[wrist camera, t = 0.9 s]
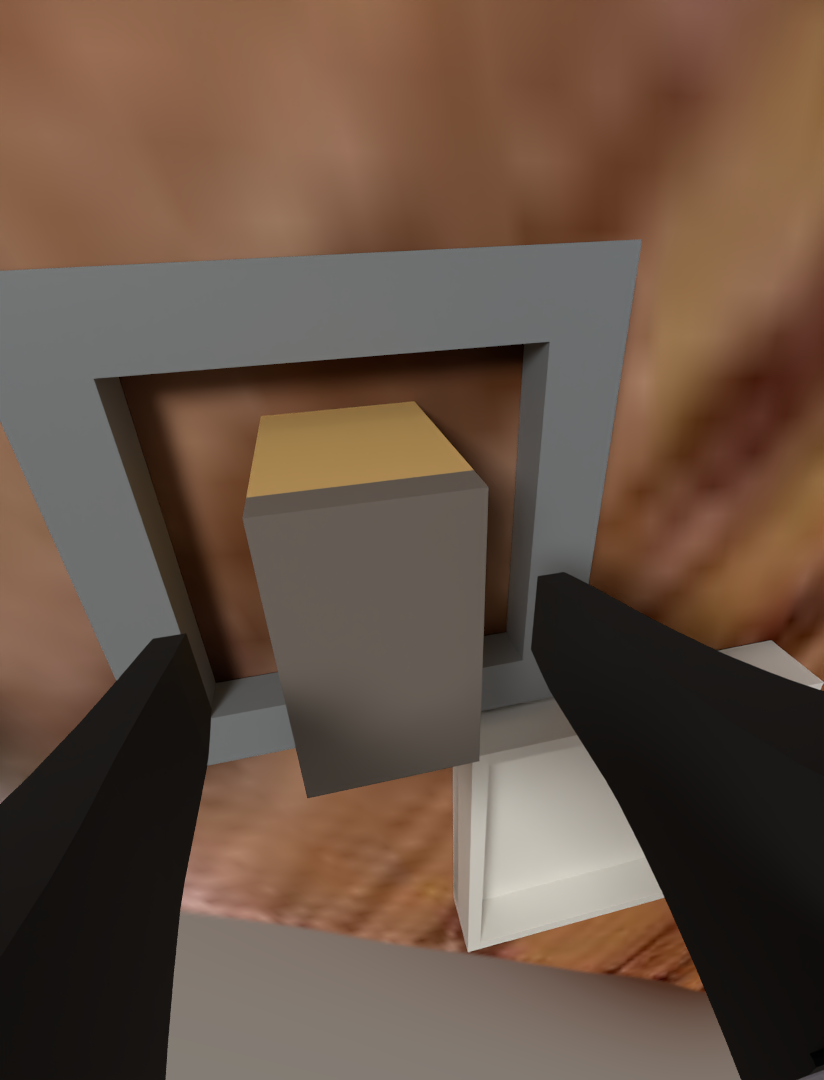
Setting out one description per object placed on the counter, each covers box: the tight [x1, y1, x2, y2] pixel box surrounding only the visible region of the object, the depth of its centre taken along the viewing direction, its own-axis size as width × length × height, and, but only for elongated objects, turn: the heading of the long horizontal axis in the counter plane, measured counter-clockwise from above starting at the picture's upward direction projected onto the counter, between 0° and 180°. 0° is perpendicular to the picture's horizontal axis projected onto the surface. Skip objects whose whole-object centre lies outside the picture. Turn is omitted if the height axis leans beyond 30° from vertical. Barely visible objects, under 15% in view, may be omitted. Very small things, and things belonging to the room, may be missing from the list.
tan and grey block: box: [243, 402, 489, 798], centre depth 13 cm, size 4×7×6 cm, turn 2°
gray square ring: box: [0, 240, 642, 765], centre depth 14 cm, size 14×14×2 cm
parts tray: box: [453, 640, 824, 952], centre depth 23 cm, size 14×14×2 cm
